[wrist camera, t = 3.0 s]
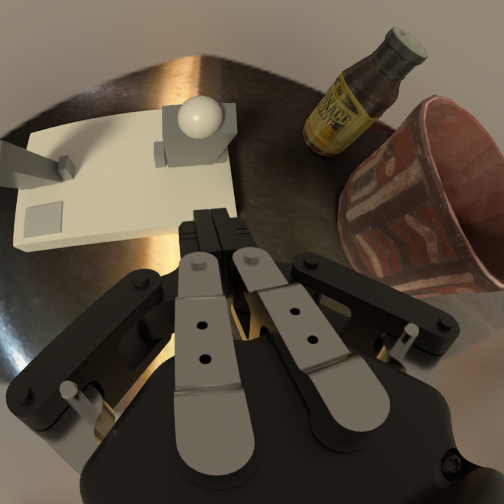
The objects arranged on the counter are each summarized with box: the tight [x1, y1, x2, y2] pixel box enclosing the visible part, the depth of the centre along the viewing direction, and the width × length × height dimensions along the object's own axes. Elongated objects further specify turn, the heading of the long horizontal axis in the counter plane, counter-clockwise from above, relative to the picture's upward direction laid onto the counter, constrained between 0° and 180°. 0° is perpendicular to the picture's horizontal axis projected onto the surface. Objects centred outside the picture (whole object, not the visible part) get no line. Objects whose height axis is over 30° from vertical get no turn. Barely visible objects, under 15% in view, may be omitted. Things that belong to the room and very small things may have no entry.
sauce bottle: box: [303, 27, 428, 157], centre depth 25 cm, size 7×6×20 cm
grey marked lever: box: [0, 140, 62, 189], centre depth 16 cm, size 3×4×14 cm, turn 99°
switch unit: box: [13, 109, 237, 252], centre depth 25 cm, size 14×24×5 cm, turn 99°
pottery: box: [337, 95, 504, 299], centre depth 25 cm, size 18×18×18 cm
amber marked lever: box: [162, 96, 237, 168], centre depth 20 cm, size 3×4×14 cm, turn 99°
